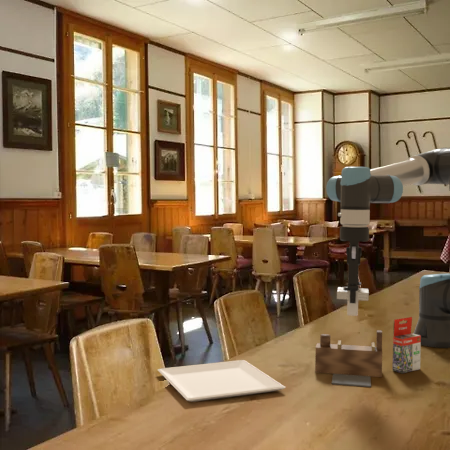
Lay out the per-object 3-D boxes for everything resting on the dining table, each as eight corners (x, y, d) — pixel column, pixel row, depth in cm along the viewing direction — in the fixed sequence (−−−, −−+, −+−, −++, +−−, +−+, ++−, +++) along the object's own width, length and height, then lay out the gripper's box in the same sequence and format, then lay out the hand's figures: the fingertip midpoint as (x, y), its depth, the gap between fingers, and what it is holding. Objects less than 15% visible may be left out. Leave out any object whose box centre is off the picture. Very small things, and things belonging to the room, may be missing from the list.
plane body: (381, 371, 173) (382, 329, 172) (381, 377, 168) (382, 333, 167) (316, 367, 176) (317, 325, 176) (315, 372, 172) (315, 329, 171)
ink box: (420, 369, 175) (422, 318, 174) (401, 374, 171) (403, 322, 170) (410, 366, 178) (411, 316, 177) (391, 370, 174) (392, 319, 173)
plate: (186, 407, 144) (186, 399, 144) (156, 375, 168) (156, 368, 168) (286, 394, 154) (286, 386, 154) (244, 366, 178) (244, 359, 178)
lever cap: (368, 296, 165) (368, 286, 165) (368, 300, 158) (368, 290, 158) (337, 294, 167) (338, 284, 167) (336, 298, 160) (337, 288, 160)
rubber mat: (370, 377, 167) (370, 376, 167) (370, 387, 159) (370, 385, 159) (333, 375, 169) (333, 373, 169) (331, 384, 161) (331, 382, 161)
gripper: (341, 223, 172) (339, 304, 173) (338, 227, 153) (336, 319, 154) (368, 224, 170) (367, 306, 172) (369, 228, 151) (367, 320, 152)
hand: (352, 312), depth 163 cm, fingers closed on lever cap, 7 cm apart
